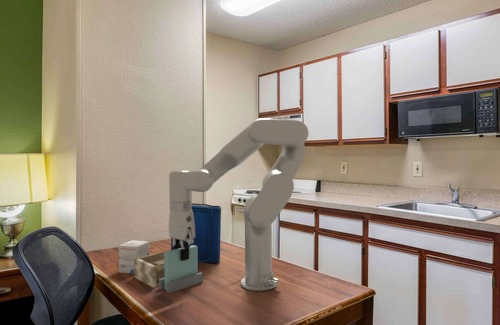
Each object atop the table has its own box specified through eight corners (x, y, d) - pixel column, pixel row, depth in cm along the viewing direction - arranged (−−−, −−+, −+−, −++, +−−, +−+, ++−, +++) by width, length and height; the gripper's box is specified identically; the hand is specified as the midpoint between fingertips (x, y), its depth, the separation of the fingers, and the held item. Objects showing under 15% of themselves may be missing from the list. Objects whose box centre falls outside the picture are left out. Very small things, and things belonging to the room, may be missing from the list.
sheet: (197, 282, 120) (197, 246, 120) (168, 292, 112) (168, 253, 111) (193, 280, 122) (193, 245, 121) (164, 290, 113) (164, 251, 113)
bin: (192, 278, 126) (192, 257, 126) (153, 290, 115) (153, 267, 114) (172, 269, 136) (171, 249, 136) (134, 279, 124) (134, 258, 124)
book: (222, 259, 148) (222, 203, 148) (219, 264, 141) (219, 205, 141) (175, 258, 150) (174, 202, 150) (170, 263, 143) (169, 205, 143)
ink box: (150, 269, 136) (150, 240, 136) (138, 276, 128) (137, 246, 127) (131, 267, 138) (131, 239, 138) (118, 274, 130) (118, 244, 130)
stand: (206, 285, 119) (206, 273, 119) (169, 298, 108) (169, 285, 108) (191, 278, 125) (191, 267, 125) (155, 290, 115) (155, 278, 114)
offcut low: (181, 275, 125) (181, 266, 125) (157, 283, 118) (157, 273, 118) (175, 273, 128) (175, 264, 128) (151, 280, 121) (151, 270, 121)
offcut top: (177, 267, 125) (177, 259, 125) (159, 273, 119) (159, 264, 119) (171, 265, 127) (171, 257, 127) (153, 270, 121) (153, 262, 121)
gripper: (203, 207, 113) (204, 261, 113) (176, 202, 125) (177, 251, 125) (185, 210, 108) (185, 266, 108) (158, 204, 119) (159, 256, 120)
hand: (181, 258), depth 116 cm, fingers open, 3 cm apart
